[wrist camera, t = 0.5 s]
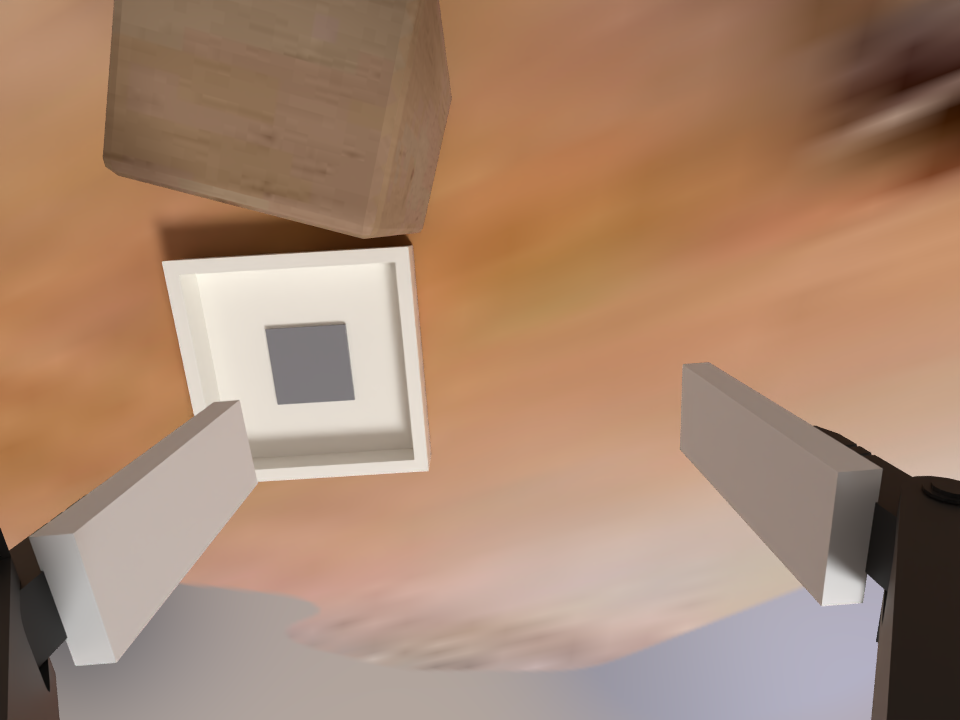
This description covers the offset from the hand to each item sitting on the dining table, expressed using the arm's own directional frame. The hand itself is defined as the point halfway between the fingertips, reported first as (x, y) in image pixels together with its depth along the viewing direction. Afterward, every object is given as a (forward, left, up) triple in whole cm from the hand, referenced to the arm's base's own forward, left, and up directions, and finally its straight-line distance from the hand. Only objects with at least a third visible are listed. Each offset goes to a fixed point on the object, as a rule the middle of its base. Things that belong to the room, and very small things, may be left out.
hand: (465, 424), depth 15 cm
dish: (+4, -12, -25) cm, 28 cm away
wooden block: (-12, -6, -25) cm, 29 cm away
